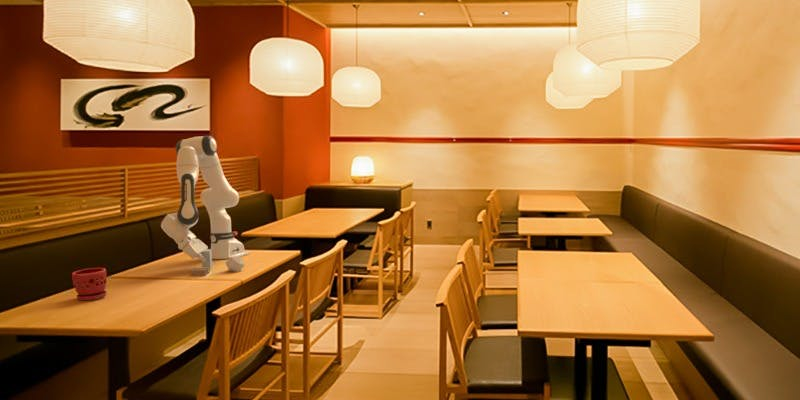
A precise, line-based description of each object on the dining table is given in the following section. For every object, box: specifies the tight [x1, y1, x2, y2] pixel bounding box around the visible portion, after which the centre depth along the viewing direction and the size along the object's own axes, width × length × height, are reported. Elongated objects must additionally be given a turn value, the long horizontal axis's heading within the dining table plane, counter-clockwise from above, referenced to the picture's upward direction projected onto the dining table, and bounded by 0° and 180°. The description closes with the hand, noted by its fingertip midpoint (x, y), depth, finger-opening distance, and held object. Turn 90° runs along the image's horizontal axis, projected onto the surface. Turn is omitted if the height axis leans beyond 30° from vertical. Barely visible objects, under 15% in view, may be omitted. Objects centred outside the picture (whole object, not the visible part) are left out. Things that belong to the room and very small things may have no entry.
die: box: [225, 256, 246, 273], centre depth 331 cm, size 8×9×10 cm
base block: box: [190, 266, 211, 276], centre depth 323 cm, size 7×7×3 cm
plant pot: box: [71, 267, 108, 301], centre depth 280 cm, size 13×13×12 cm
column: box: [201, 249, 213, 271], centre depth 336 cm, size 4×4×10 cm
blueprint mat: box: [188, 272, 212, 278], centre depth 324 cm, size 14×12×1 cm
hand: (208, 259), depth 336 cm, fingers open, 8 cm apart
